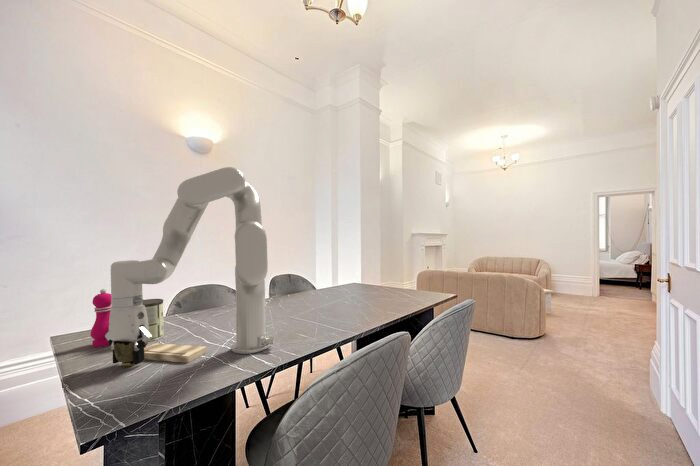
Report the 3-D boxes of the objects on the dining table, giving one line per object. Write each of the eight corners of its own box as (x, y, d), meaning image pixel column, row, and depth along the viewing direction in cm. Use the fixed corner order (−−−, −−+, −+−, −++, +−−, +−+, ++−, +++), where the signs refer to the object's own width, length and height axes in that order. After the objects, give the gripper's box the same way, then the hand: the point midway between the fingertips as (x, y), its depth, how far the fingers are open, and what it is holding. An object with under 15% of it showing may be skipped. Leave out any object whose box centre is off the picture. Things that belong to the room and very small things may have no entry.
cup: (109, 373, 85) (109, 344, 85) (117, 363, 91) (117, 336, 92) (140, 368, 87) (140, 340, 88) (146, 359, 94) (146, 333, 94)
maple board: (206, 352, 98) (206, 346, 98) (188, 362, 90) (188, 355, 90) (156, 349, 103) (156, 342, 103) (134, 358, 95) (134, 351, 95)
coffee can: (129, 338, 114) (128, 301, 115) (160, 332, 122) (159, 297, 122) (134, 345, 107) (133, 305, 107) (167, 338, 114) (166, 300, 115)
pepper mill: (85, 346, 107) (85, 290, 107) (108, 339, 114) (108, 286, 114) (98, 348, 104) (97, 291, 105) (120, 341, 111) (120, 287, 111)
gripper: (162, 299, 91) (163, 358, 91) (116, 299, 95) (117, 355, 95) (139, 305, 84) (141, 369, 84) (91, 304, 88) (92, 365, 88)
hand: (128, 361), depth 89 cm, fingers closed on cup, 6 cm apart
